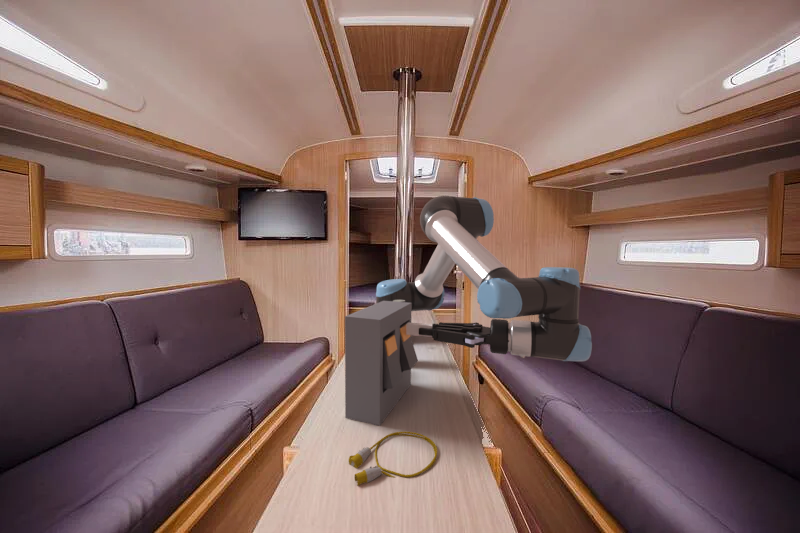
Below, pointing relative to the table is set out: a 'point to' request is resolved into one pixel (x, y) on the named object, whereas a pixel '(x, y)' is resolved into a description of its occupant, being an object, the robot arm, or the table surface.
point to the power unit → (372, 361)
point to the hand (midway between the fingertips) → (407, 328)
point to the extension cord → (376, 471)
